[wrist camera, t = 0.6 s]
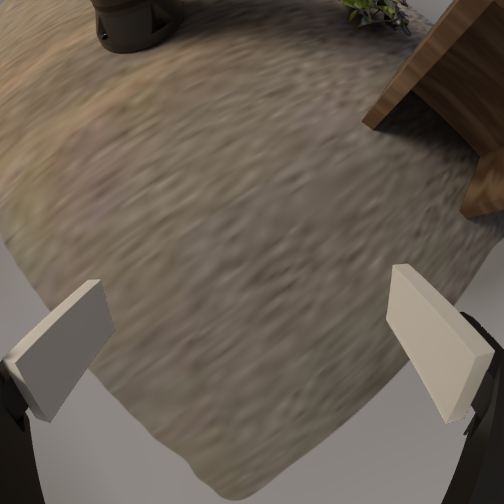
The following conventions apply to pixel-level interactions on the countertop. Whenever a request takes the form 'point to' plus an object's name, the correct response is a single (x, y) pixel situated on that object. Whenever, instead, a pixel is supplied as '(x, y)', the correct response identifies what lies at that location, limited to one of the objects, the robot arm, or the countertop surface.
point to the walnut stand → (461, 90)
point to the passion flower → (386, 5)
